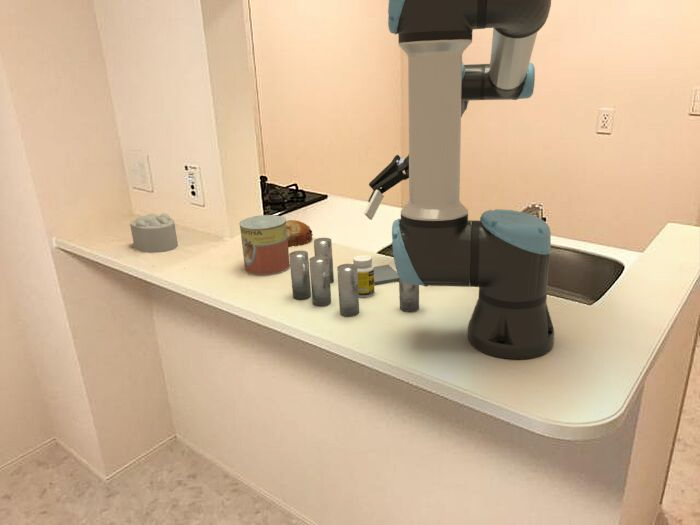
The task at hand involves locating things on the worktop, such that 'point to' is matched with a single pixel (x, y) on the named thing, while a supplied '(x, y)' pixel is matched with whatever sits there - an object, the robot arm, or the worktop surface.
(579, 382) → the worktop surface
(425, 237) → the robot arm
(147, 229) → the lumpy-topped squat cylinder
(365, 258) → the supplement bottle
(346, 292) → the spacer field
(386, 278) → the mat
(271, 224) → the canned food
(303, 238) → the bread roll
